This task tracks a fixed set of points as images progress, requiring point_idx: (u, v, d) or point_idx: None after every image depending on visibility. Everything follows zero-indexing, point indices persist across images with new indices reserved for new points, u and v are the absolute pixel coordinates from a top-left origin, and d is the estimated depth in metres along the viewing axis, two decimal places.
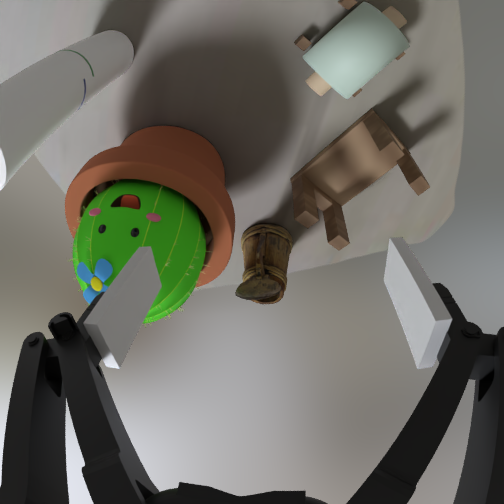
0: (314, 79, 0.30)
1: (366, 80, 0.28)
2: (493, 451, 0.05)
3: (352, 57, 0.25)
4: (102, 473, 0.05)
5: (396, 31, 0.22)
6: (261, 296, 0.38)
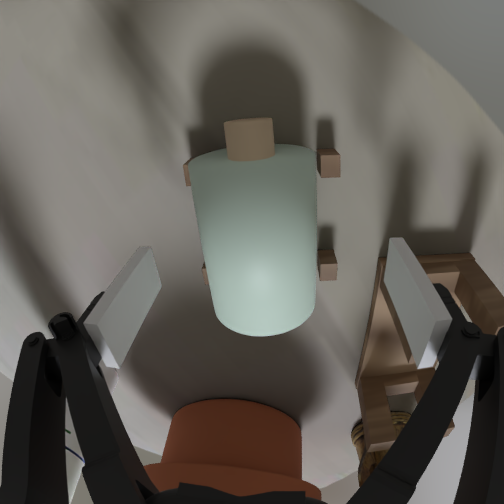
0: None
1: (300, 283, 0.18)
2: (493, 451, 0.05)
3: (236, 282, 0.17)
4: (102, 473, 0.05)
5: (240, 180, 0.14)
6: None
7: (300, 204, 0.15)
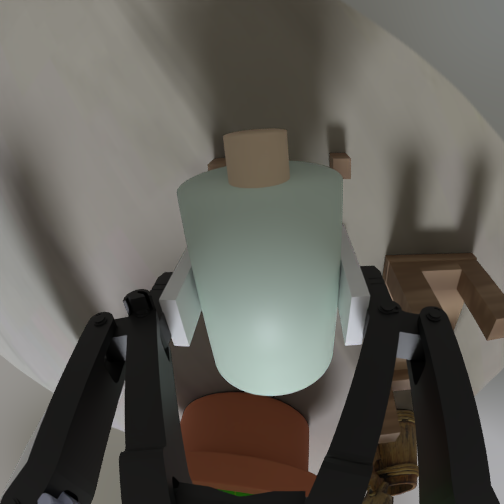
0: None
1: (325, 333, 0.14)
2: (444, 433, 0.06)
3: (250, 343, 0.13)
4: (140, 464, 0.06)
5: (259, 219, 0.10)
6: None
7: (331, 242, 0.12)
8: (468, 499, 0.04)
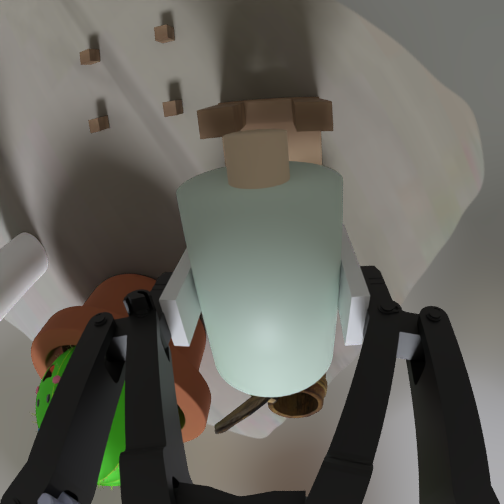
0: None
1: (325, 334, 0.14)
2: (444, 433, 0.06)
3: (250, 344, 0.13)
4: (140, 464, 0.06)
5: (259, 220, 0.10)
6: (224, 426, 0.22)
7: (331, 244, 0.12)
8: (468, 498, 0.04)
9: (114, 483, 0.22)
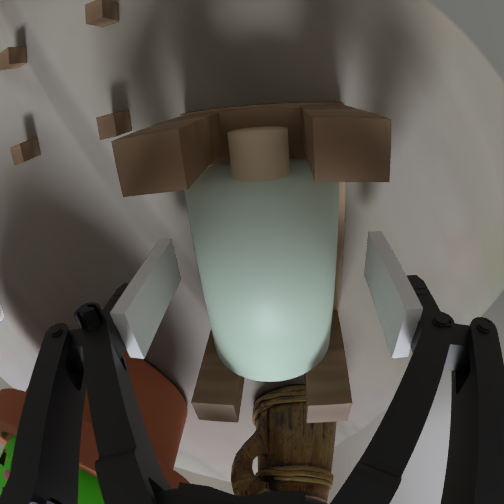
0: None
1: (322, 321, 0.15)
2: (476, 443, 0.05)
3: (250, 329, 0.14)
4: (115, 469, 0.06)
5: (262, 210, 0.11)
6: None
7: (328, 233, 0.13)
8: None
9: None
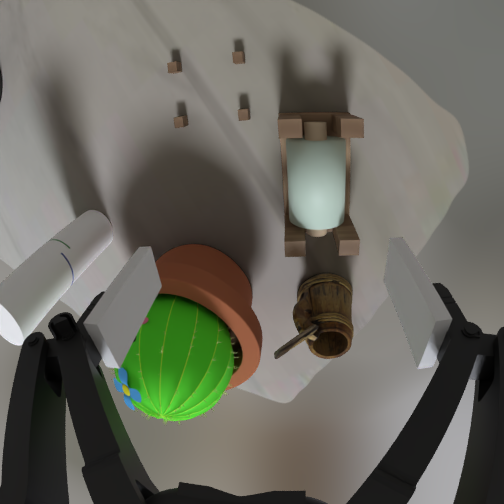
0: None
1: (339, 200, 0.35)
2: (493, 451, 0.05)
3: (311, 197, 0.34)
4: (102, 473, 0.05)
5: (318, 147, 0.31)
6: (286, 346, 0.33)
7: (341, 160, 0.33)
8: None
9: (185, 414, 0.32)
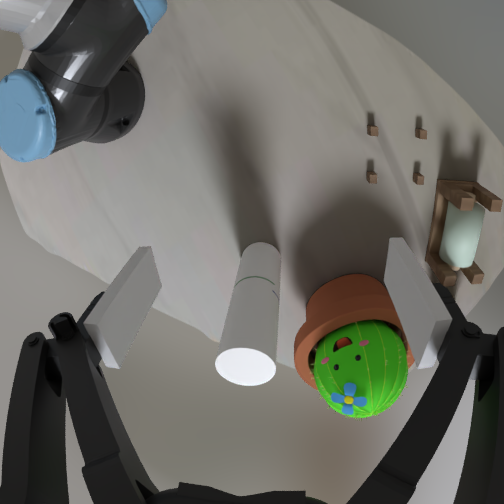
0: None
1: (476, 247, 0.44)
2: (493, 451, 0.05)
3: (465, 247, 0.43)
4: (102, 473, 0.05)
5: (477, 215, 0.40)
6: None
7: (482, 222, 0.41)
8: None
9: (386, 407, 0.41)
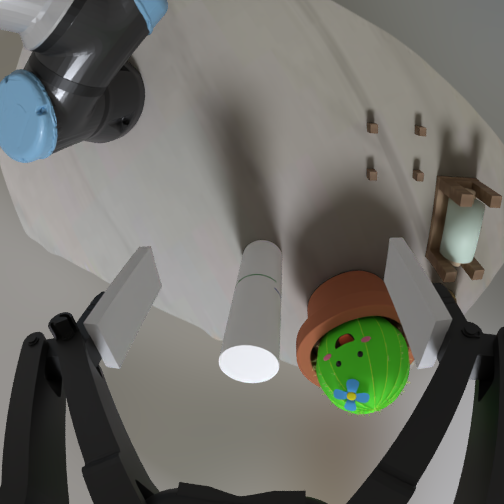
0: (453, 260, 0.47)
1: None
2: (493, 451, 0.05)
3: (466, 243, 0.43)
4: (102, 473, 0.05)
5: (477, 211, 0.40)
6: None
7: (482, 218, 0.42)
8: None
9: (388, 403, 0.41)
